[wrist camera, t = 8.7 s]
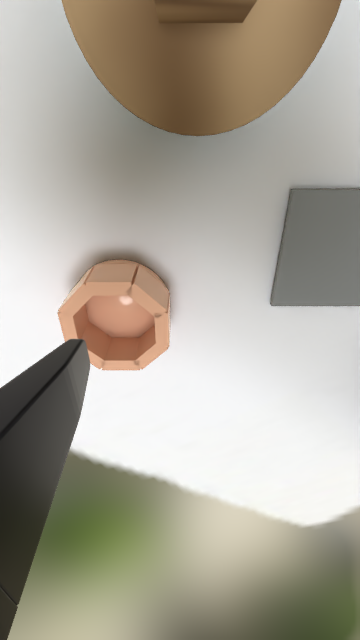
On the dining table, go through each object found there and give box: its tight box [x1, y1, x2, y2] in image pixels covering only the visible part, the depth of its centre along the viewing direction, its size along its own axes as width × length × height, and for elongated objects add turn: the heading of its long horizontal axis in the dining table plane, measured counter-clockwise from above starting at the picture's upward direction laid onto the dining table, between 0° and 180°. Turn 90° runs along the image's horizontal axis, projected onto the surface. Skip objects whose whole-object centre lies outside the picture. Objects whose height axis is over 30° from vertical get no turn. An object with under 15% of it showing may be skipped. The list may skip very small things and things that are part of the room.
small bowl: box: [58, 259, 170, 370], centre depth 22 cm, size 7×7×4 cm
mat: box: [270, 189, 360, 306], centre depth 21 cm, size 10×8×1 cm
